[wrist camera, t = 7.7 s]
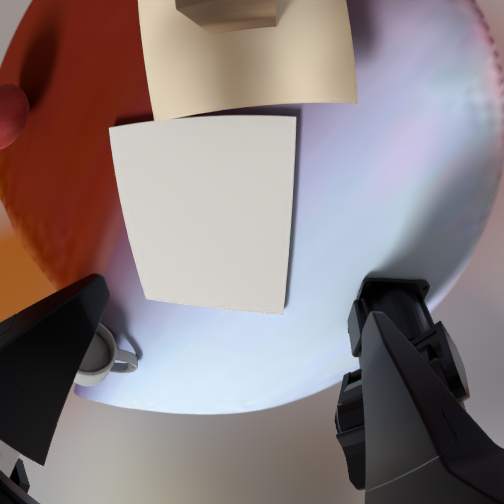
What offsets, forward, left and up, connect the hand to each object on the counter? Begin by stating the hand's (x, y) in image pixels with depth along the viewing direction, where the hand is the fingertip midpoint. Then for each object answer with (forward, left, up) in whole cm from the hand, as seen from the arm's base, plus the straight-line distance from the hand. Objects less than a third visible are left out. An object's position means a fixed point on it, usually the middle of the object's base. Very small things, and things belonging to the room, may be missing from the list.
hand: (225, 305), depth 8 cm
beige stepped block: (+1, -12, -8) cm, 14 cm away
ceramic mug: (+21, +22, -12) cm, 32 cm away
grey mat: (+5, +3, -12) cm, 13 cm away
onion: (+22, -9, -12) cm, 26 cm away
